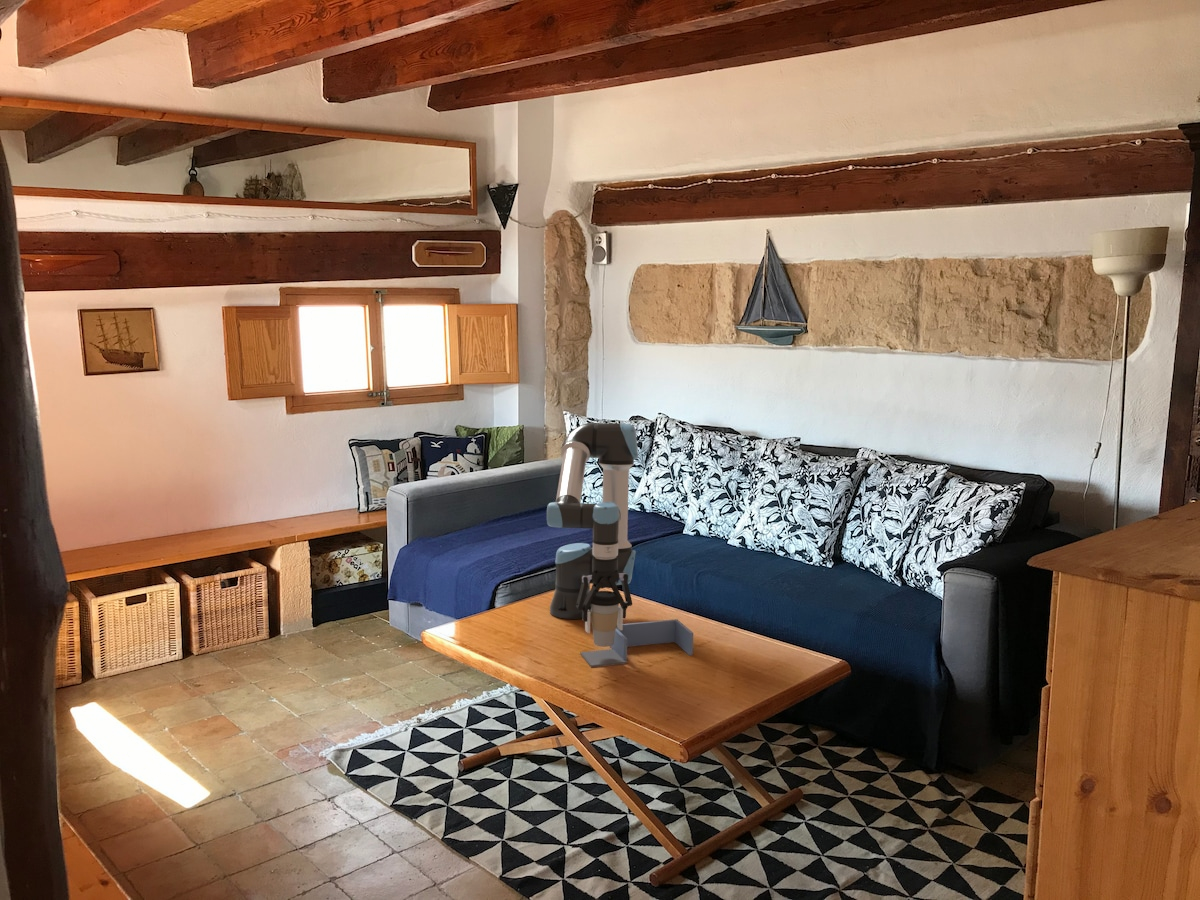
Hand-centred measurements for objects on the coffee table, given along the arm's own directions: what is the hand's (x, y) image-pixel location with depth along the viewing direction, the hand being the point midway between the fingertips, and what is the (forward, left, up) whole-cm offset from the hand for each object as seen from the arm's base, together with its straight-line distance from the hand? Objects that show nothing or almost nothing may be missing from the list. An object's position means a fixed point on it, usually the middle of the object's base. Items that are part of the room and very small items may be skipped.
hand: (603, 630), depth 293 cm
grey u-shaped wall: (-2, +16, -9) cm, 19 cm away
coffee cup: (0, 0, -4) cm, 4 cm away
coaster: (0, 0, -9) cm, 9 cm away
